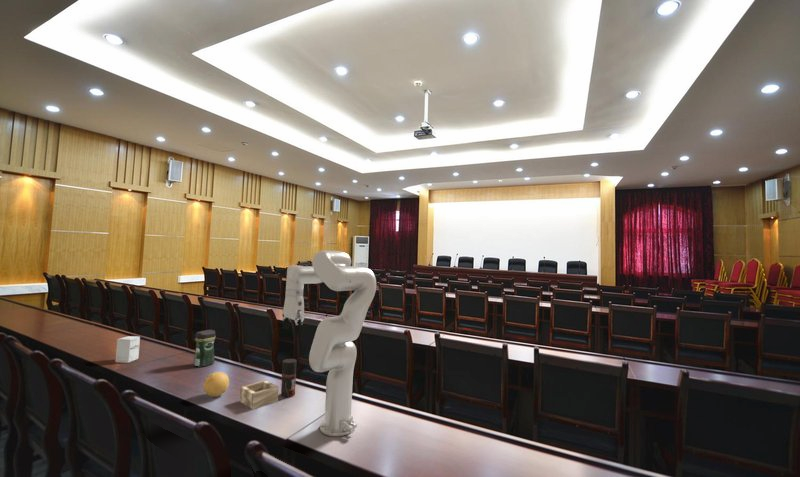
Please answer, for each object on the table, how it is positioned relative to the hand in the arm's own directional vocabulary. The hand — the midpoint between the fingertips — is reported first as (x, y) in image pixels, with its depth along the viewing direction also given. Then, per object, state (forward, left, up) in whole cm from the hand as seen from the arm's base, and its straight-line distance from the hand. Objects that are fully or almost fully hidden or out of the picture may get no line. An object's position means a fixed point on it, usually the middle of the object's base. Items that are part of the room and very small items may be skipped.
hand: (291, 331), depth 153 cm
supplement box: (+103, +35, -29) cm, 112 cm away
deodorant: (+1, 0, -28) cm, 29 cm away
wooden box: (+4, +12, -28) cm, 31 cm away
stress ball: (+22, +22, -28) cm, 42 cm away
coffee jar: (+68, +9, -28) cm, 74 cm away
